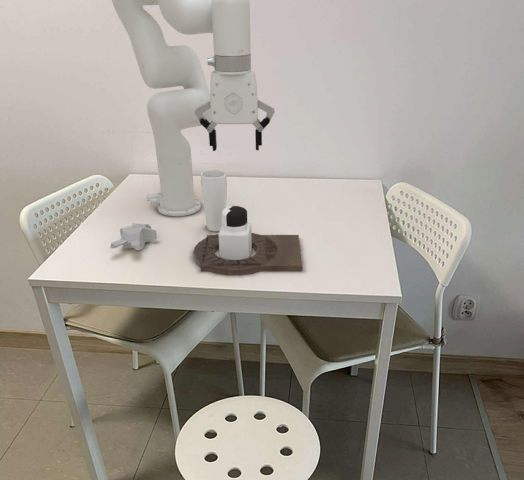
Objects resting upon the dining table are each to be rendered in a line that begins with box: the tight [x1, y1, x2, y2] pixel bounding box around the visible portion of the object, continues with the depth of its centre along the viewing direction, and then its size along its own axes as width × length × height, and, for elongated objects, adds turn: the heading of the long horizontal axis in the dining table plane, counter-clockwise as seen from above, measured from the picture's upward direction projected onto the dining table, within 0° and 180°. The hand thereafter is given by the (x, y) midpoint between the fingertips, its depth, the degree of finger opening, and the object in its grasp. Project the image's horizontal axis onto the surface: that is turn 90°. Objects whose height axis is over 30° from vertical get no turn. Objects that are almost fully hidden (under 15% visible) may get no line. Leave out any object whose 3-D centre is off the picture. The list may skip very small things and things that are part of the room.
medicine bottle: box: [218, 205, 253, 260], centre depth 130 cm, size 7×7×12 cm
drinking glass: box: [200, 169, 228, 232], centre depth 142 cm, size 7×7×15 cm
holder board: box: [192, 232, 303, 276], centre depth 134 cm, size 26×21×2 cm
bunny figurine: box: [109, 223, 157, 251], centre depth 137 cm, size 10×5×15 cm
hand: (236, 149), depth 121 cm, fingers open, 9 cm apart
